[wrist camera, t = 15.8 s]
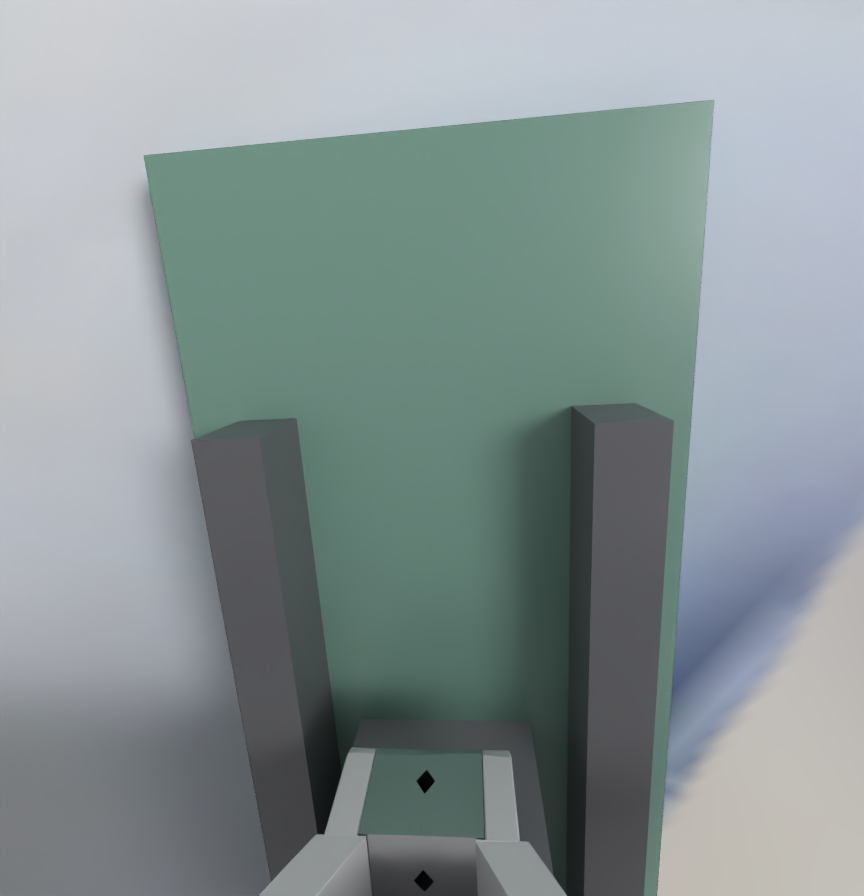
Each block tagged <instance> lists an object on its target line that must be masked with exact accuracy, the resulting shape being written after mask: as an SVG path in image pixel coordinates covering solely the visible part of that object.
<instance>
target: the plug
mask: <svg viewBox="0 0 864 896" xmlns="http://www.w3.org/2000/svg"><path fill="white" fill-rule="evenodd" d="M353 747H358V748H390V749H411V750H482V752H483V750H509V752H510V754H511V758H512V768H513V778H514V788H515V797H516V807H517V817H518V827H519V837H520V841H525V842H529V843H530V844H531V845H532V847H533V848H534V850H535V851H536V853H537V854H538V855H539V857H540V858H541V860H542V861H543V862H544V864H545V865H546V867H547V868H548V869H549V871H550V872H551V874H552V875H553V869H552V862H551V856H550V849H549V843H548V836H547V830H546V823H545V816H544V810H543V803H542V797H541V790H540V784H539V777H538V770H537V764H536V757H535V751H534V744H533V738H532V731H531V724H530V722H511V721H454V720H397V719H361V720H360V724H359V727H358V731H357V734H356V738H355V741H354V745H353ZM482 766H483V763H482ZM483 796H484V792H483Z"/></svg>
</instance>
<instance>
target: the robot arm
mask: <svg viewBox="0 0 864 896" xmlns="http://www.w3.org/2000/svg"><path fill="white" fill-rule="evenodd" d="M482 763H483V766H482ZM483 792H484V796H483ZM258 896H567V895H566V893H565V892H564V891H563V889H562V888H561V886H560V885H559V884H558V882H557V881H556V879H555V878H554V876H553V875H552V874H551V872H550V871H549V869H548V868H547V867H546V865H545V864H544V862H543V861H542V860H541V858H540V857H539V855H538V854H537V853H536V851H535V850H534V848H533V847H532V845H531V844H530V843H529V842H525V841H520V837H519V827H518V817H517V807H516V797H515V788H514V778H513V768H512V758H511V754H510V752H509V750H483V752H482V750H411V749H390V748H358V747H352V748H351V749H350V751H349V752H348V754H347V757H346V760H345V764H344V767H343V771H342V774H341V778H340V781H339V785H338V788H337V792H336V795H335V799H334V802H333V806H332V809H331V813H330V816H329V820H328V823H327V827H326V830H325V834H316V835H315V836H314V837H313V838H312V839H311V840H310V841H309V842H308V843H307V844H306V845H305V847H304V848H303V849H302V850H301V851H300V852H299V853H298V854H297V855H296V856H295V857H294V858H293V859H292V860H291V861H290V862H289V863H288V865H287V866H286V867H285V868H284V869H283V870H282V871H281V872H280V873H279V874H278V875H277V876H276V877H275V878H274V879H273V880H272V882H271V883H270V884H269V885H268V886H267V887H266V888H265V889H264V890H263V891H262V892H261V893H260V894H259V895H258Z"/></svg>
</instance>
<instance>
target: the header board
mask: <svg viewBox="0 0 864 896" xmlns="http://www.w3.org/2000/svg"><path fill="white" fill-rule="evenodd" d="M713 109H714V100H708V101H698V102H687V103H677V104H667V105H657V106H646V107H636V108H626V109H615V110H605V111H595V112H585V113H574V114H564V115H554V116H544V117H533V118H523V119H513V120H503V121H492V122H482V123H472V124H461V125H451V126H441V127H431V128H420V129H410V130H400V131H390V132H379V133H369V134H359V135H349V136H338V137H328V138H318V139H307V140H297V141H287V142H277V143H266V144H256V145H246V146H236V147H225V148H215V149H205V150H194V151H184V152H174V153H164V154H153V155H144V160H145V166H146V171H147V177H148V182H149V188H150V193H151V199H152V204H153V210H154V216H155V221H156V227H157V232H158V238H159V243H160V249H161V254H162V260H163V265H164V271H165V277H166V282H167V288H168V293H169V299H170V304H171V310H172V315H173V321H174V327H175V332H176V338H177V343H178V349H179V354H180V360H181V365H182V371H183V376H184V382H185V388H186V393H187V399H188V404H189V410H190V415H191V421H192V426H193V432H194V438H195V439H194V440H191V442H192V448H193V453H194V459H195V464H196V470H197V475H198V481H199V486H200V492H201V497H202V503H203V508H204V514H205V519H206V524H207V530H208V535H209V541H210V546H211V552H212V557H213V563H214V568H215V574H216V579H217V585H218V590H219V596H220V601H221V607H222V612H223V618H224V623H225V629H226V634H227V640H228V645H229V651H230V656H231V662H232V667H233V673H234V678H235V684H236V689H237V695H238V700H239V706H240V711H241V717H242V722H243V728H244V733H245V739H246V744H247V750H248V755H249V761H250V766H251V772H252V777H253V783H254V788H255V794H256V799H257V804H258V810H259V815H260V821H261V826H262V832H263V837H264V843H265V848H266V854H267V859H268V865H269V870H270V876H271V881H272V880H273V879H274V878H275V877H276V876H277V875H278V874H279V873H280V872H281V871H282V870H283V869H284V868H285V867H286V866H287V865H288V863H289V862H290V861H291V860H292V859H293V858H294V857H295V856H296V855H297V854H298V853H299V852H300V851H301V850H302V849H303V848H304V847H305V845H306V844H307V843H308V842H309V841H310V840H311V839H312V838H313V837H314V836H315V835H316V834H325V830H326V827H327V823H328V820H329V816H330V813H331V809H332V806H333V802H334V799H335V795H336V792H337V788H338V785H339V781H340V778H341V774H342V771H343V767H344V764H345V760H346V757H347V754H348V752H349V751H350V749H351V748H352V747H353V745H354V741H355V738H356V734H357V731H358V727H359V724H360V720H361V719H397V720H454V721H511V722H530V724H531V731H532V738H533V744H534V751H535V757H536V764H537V770H538V777H539V784H540V790H541V797H542V803H543V810H544V816H545V823H546V830H547V836H548V843H549V849H550V856H551V862H552V869H553V876H554V878H555V879H556V881H557V882H558V884H559V885H560V886H561V888H562V889H563V891H564V892H565V893H566V895H567V896H657V889H658V875H659V861H660V847H661V833H662V819H663V806H664V792H665V778H666V764H667V750H668V736H669V722H670V708H671V694H672V680H673V666H674V652H675V638H676V624H677V610H678V596H679V582H680V569H681V555H682V541H683V527H684V513H685V499H686V485H687V471H688V457H689V443H690V429H691V415H692V401H693V387H694V373H695V359H696V346H697V332H698V318H699V304H700V290H701V276H702V262H703V248H704V234H705V220H706V206H707V192H708V178H709V164H710V150H711V136H712V122H713Z"/></svg>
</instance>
